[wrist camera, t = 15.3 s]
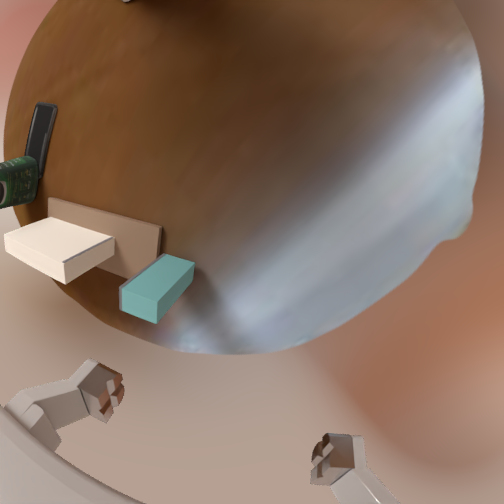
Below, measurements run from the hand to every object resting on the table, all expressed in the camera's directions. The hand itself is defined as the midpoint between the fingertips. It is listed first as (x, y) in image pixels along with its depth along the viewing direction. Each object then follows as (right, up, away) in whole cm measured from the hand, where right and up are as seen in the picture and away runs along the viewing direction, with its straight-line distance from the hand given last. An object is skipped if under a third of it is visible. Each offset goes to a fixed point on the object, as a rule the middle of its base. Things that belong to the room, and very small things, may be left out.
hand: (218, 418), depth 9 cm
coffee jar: (-44, +21, +32) cm, 59 cm away
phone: (-41, +29, +29) cm, 57 cm away
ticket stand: (-25, +9, +33) cm, 42 cm away
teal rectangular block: (-9, +4, +30) cm, 32 cm away
